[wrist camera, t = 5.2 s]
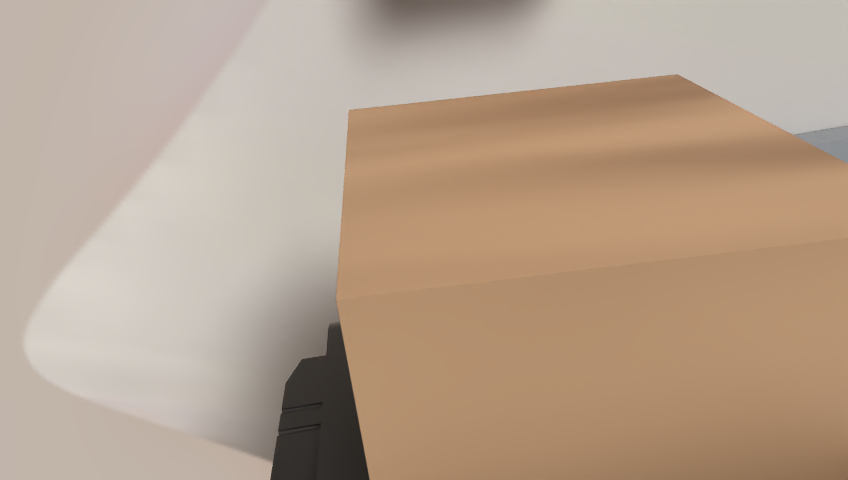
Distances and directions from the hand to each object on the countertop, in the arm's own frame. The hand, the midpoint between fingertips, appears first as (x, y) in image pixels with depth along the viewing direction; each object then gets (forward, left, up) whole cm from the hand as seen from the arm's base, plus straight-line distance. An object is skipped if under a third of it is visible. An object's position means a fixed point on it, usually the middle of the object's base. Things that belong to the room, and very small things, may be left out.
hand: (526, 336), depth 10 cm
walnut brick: (0, 0, -1) cm, 1 cm away
